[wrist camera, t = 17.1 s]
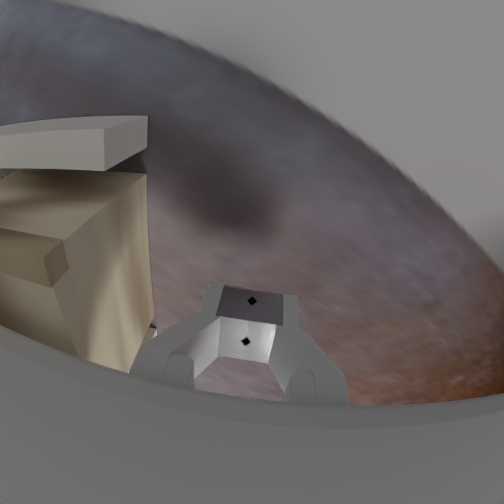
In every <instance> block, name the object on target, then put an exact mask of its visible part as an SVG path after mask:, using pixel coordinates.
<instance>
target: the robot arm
mask: <svg viewBox="0 0 504 504" xmlns="http://www.w3.org/2000/svg"><path fill="white" fill-rule="evenodd" d="M218 356H223V357H230V358H238V359H245V360H251V361H257V362H263V363H268V366H269V367H270V369H271V371H272V373H273V374H274V376H275V378H276V380H277V381H278V383H279V385H280V387H281V388H282V390H283V392H284V395H283V398H282V400H281V401H271V400H262V399H254V398H247V397H240V396H233V395H227V394H221V393H215V392H209V391H204V390H199V389H194V379H195V378H196V377H197V376H198V375H199V374H200V373H201V372H202V371H203V370H204V369H206V368H207V367H208V366H209V365H210V364H211V363H212V362H213V361H214V360H215V359H216V358H217V357H218ZM0 504H504V393H501V394H495V395H490V396H484V397H478V398H471V399H464V400H456V401H447V402H437V403H425V404H411V405H386V406H349V402H348V394H347V387H346V379H345V375H344V374H343V373H342V371H341V370H340V369H339V368H338V367H337V366H336V365H335V364H334V362H333V361H332V360H331V359H330V358H329V357H328V356H327V354H326V353H325V352H324V351H323V350H322V349H321V348H320V347H319V345H318V344H317V343H316V342H315V341H314V340H313V339H312V337H311V336H310V335H309V334H308V333H307V332H306V331H305V329H302V328H300V324H299V303H298V296H297V295H293V294H284V293H283V294H280V293H273V292H266V291H259V290H253V289H247V288H242V287H236V286H230V285H224V284H218V283H212V282H210V283H209V284H208V287H207V289H206V292H205V295H204V298H203V301H202V304H201V307H200V310H199V313H195V312H194V313H192V314H191V315H189V316H188V317H186V318H184V319H183V320H181V321H180V322H178V323H176V324H175V325H173V326H171V327H170V328H168V329H167V330H165V331H163V332H162V333H160V334H158V335H157V336H155V337H154V338H152V339H150V340H149V341H147V342H145V343H144V344H142V345H141V347H140V349H139V352H138V354H137V356H136V358H135V360H134V363H133V365H132V367H131V369H130V371H129V373H127V372H124V371H120V370H117V369H113V368H110V367H107V366H104V365H100V364H97V363H94V362H91V361H88V360H85V359H82V358H79V357H77V356H74V355H71V354H68V353H66V352H63V351H60V350H58V349H55V348H52V347H50V346H47V345H45V344H42V343H40V342H38V341H35V340H33V339H30V338H28V337H26V336H24V335H21V334H19V333H17V332H15V331H12V330H10V329H8V328H6V327H4V326H2V325H0Z"/></svg>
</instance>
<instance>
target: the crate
mask: <svg viewBox="0 0 504 504" xmlns="http://www.w3.org/2000/svg"><path fill="white" fill-rule="evenodd" d="M154 316H155V311H154V302H153V292H152V282H151V270H150V256H149V240H148V218H147V174H143V173H130V172H116V171H92V170H70V169H32V168H20V169H18V170H16V171H14V172H12V173H11V174H9V175H7V176H5V177H3V178H1V179H0V325H2V326H4V327H6V328H8V329H10V330H12V331H15V332H17V333H19V334H21V335H24V336H26V337H28V338H30V339H33V340H35V341H38V342H40V343H42V344H45V345H47V346H50V347H52V348H55V349H58V350H60V351H63V352H66V353H68V354H71V355H74V356H77V357H79V358H82V359H85V360H88V361H91V362H94V363H97V364H100V365H104V366H107V367H110V368H113V369H117V370H120V371H124V372H127V373H128V371H129V369H130V367H131V365H132V362H133V360H134V358H135V356H136V354H137V352H138V349H139V347H140V345H141V343H142V341H143V339H144V337H145V334H146V332H147V330H148V328H149V326H150V324H151V322H152V320H153V318H154Z"/></svg>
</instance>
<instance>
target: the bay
mask: <svg viewBox="0 0 504 504" xmlns="http://www.w3.org/2000/svg"><path fill="white" fill-rule="evenodd" d="M147 128H148V116H90V117H72V118H59V119H48V120H39V121H30V122H23V123H16V124H9V125H3V126H0V168H32V169H70V170H92V171H106V170H108V169H109V168H111V167H113V166H115V165H116V164H118V163H120V162H122V161H123V160H125V159H127V158H129V157H131V156H133V155H134V154H136V153H138V152H140V151H142V150H144V149H146V148H147ZM155 336H157V329H155V328H151V327H149V328H148V330H147V332H146V334H145V337H144V339H143V341H142V343H141V345H142V344H144V343H145V342H147V341H149V340H150V339H152V338H154V337H155ZM141 345H140V347H141ZM140 347H139V349H140ZM139 349H138V352H139ZM138 352H137V354H138ZM137 354H136V356H137ZM136 356H135V358H136ZM135 358H134V360H135ZM134 360H133V362H132V365H133V363H134ZM132 365H131V367H132ZM131 367H130V369H131ZM130 369H129V371H130ZM129 371H128V373H129Z"/></svg>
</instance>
